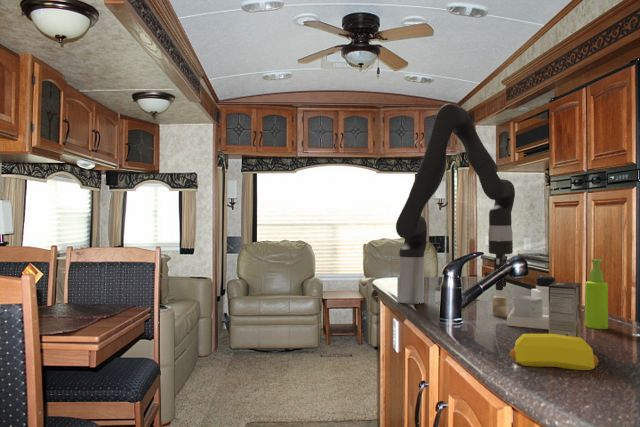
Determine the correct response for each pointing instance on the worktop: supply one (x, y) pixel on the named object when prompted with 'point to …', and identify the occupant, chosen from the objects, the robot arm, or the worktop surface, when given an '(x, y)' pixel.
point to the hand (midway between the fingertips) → (501, 288)
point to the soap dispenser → (596, 298)
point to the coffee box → (565, 309)
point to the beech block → (500, 306)
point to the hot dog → (554, 352)
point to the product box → (528, 307)
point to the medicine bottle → (543, 289)
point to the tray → (529, 320)
